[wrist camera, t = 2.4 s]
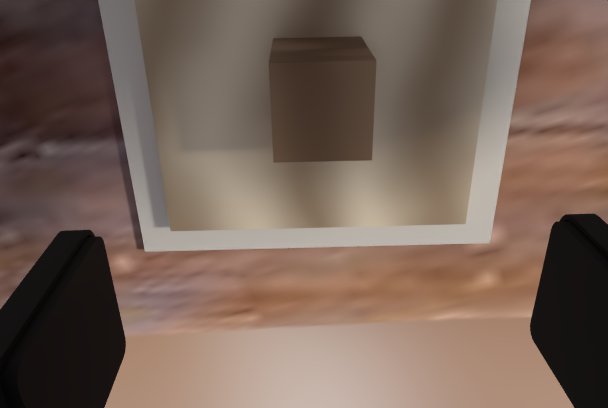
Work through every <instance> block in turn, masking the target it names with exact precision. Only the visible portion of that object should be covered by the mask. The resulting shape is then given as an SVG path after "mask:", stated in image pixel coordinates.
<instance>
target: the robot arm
mask: <svg viewBox="0 0 608 408" xmlns="http://www.w3.org/2000/svg"><path fill="white" fill-rule="evenodd" d="M530 331H531V336H532V339H533V341H534V343H535V344H536V346H537V347H538V349H539V351H540V352H541V354H542V355H543V357H544V359H545V360H546V362H547V364H548V365H549V367H550V369H551V370H552V372H553V373H554V375H555V377H556V378H557V380H558V381H559V383H560V385H561V386H562V388H563V389H564V391H565V393H566V395H567V396H568V398H569V399H570V401H571V403H572V404H573V406H574V408H608V224H607V223H605V222H604V221H603V220H602V219H601V218H600V217H599V216H597V215H596V214H568V215H564V216H563V217H562V218H561V220H560V222H555V223H554V224H553V226H552V229H551V233H550V238H549V242H548V247H547V251H546V256H545V260H544V265H543V269H542V274H541V278H540V282H539V287H538V291H537V296H536V300H535V305H534V309H533V314H532V318H531V323H530ZM125 343H126V341H125V335H124V330H123V326H122V321H121V317H120V312H119V308H118V303H117V299H116V294H115V290H114V285H113V281H112V276H111V272H110V267H109V263H108V258H107V254H106V249H105V245H104V241H103V239H102V238H101V237H95V236H94V234H93V232H92V231H91V230H74V231H60V232H59V233H58V234H57V236H56V237H55V238H54V240H53V241H52V242H51V244H50V245H49V246H48V248H47V249H46V250H45V251H44V253H43V254H42V255H41V257H40V258H39V259H38V261H37V262H36V263H35V265H34V266H33V267H32V269H31V270H30V271H29V273H28V274H27V275H26V277H25V278H24V279H23V280H22V282H21V283H20V284H19V286H18V287H17V288H16V290H15V291H14V292H13V294H12V295H11V296H10V298H9V299H8V300H7V302H6V303H5V304H4V305H3V307H2V308H1V309H0V408H104V407H105V405H106V402H107V399H108V397H109V394H110V391H111V389H112V386H113V384H114V381H115V378H116V376H117V373H118V370H119V368H120V365H121V363H122V360H123V357H124V354H125V347H126V344H125Z"/></svg>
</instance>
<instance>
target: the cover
mask: <svg viewBox="0 0 608 408" xmlns="http://www.w3.org/2000/svg"><path fill="white" fill-rule="evenodd" d="M496 6H497V0H135V7H136V13H137V20H138V26H139V32H140V39H141V45H142V51H143V58H144V64H145V71H146V77H147V83H148V90H149V96H150V103H151V109H152V115H153V122H154V128H155V135H156V141H157V147H158V154H159V160H160V167H161V173H162V179H163V186H164V192H165V198H166V205H167V211H168V218H169V224H170V230H171V231H207V230H247V229H288V228H329V227H369V226H410V225H451V224H466V217H467V210H468V203H469V196H470V189H471V182H472V175H473V168H474V161H475V154H476V147H477V140H478V133H479V126H480V119H481V112H482V105H483V98H484V91H485V84H486V77H487V70H488V63H489V56H490V49H491V41H492V34H493V27H494V20H495V13H496Z"/></svg>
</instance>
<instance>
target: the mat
mask: <svg viewBox="0 0 608 408" xmlns="http://www.w3.org/2000/svg"><path fill="white" fill-rule="evenodd" d="M98 2H99V7H100V13H101V18H102V24H103V29H104V34H105V40H106V45H107V50H108V56H109V61H110V67H111V72H112V77H113V83H114V88H115V93H116V99H117V104H118V109H119V115H120V120H121V126H122V131H123V136H124V142H125V147H126V152H127V158H128V163H129V168H130V174H131V179H132V185H133V190H134V195H135V201H136V206H137V211H138V217H139V222H140V227H141V233H142V238H143V244H144V249H145V252H146V251H186V250H226V249H267V248H307V247H347V246H387V245H427V244H468V243H490V238H491V232H492V226H493V220H494V214H495V208H496V203H497V197H498V191H499V185H500V179H501V173H502V167H503V161H504V155H505V149H506V144H507V138H508V132H509V126H510V120H511V114H512V108H513V102H514V96H515V90H516V85H517V79H518V73H519V67H520V61H521V55H522V49H523V43H524V37H525V32H526V26H527V20H528V14H529V8H530V2H531V0H497V6H496V13H495V20H494V27H493V34H492V41H491V49H490V56H489V63H488V70H487V77H486V84H485V91H484V98H483V105H482V112H481V119H480V126H479V133H478V140H477V147H476V154H475V161H474V168H473V175H472V182H471V189H470V196H469V203H468V210H467V217H466V224H451V225H410V226H369V227H329V228H288V229H247V230H207V231H171V230H170V224H169V218H168V211H167V205H166V198H165V192H164V186H163V179H162V173H161V167H160V160H159V154H158V147H157V141H156V135H155V128H154V122H153V115H152V109H151V103H150V96H149V90H148V83H147V77H146V71H145V64H144V58H143V51H142V45H141V39H140V32H139V26H138V20H137V13H136V7H135V0H98Z"/></svg>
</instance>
